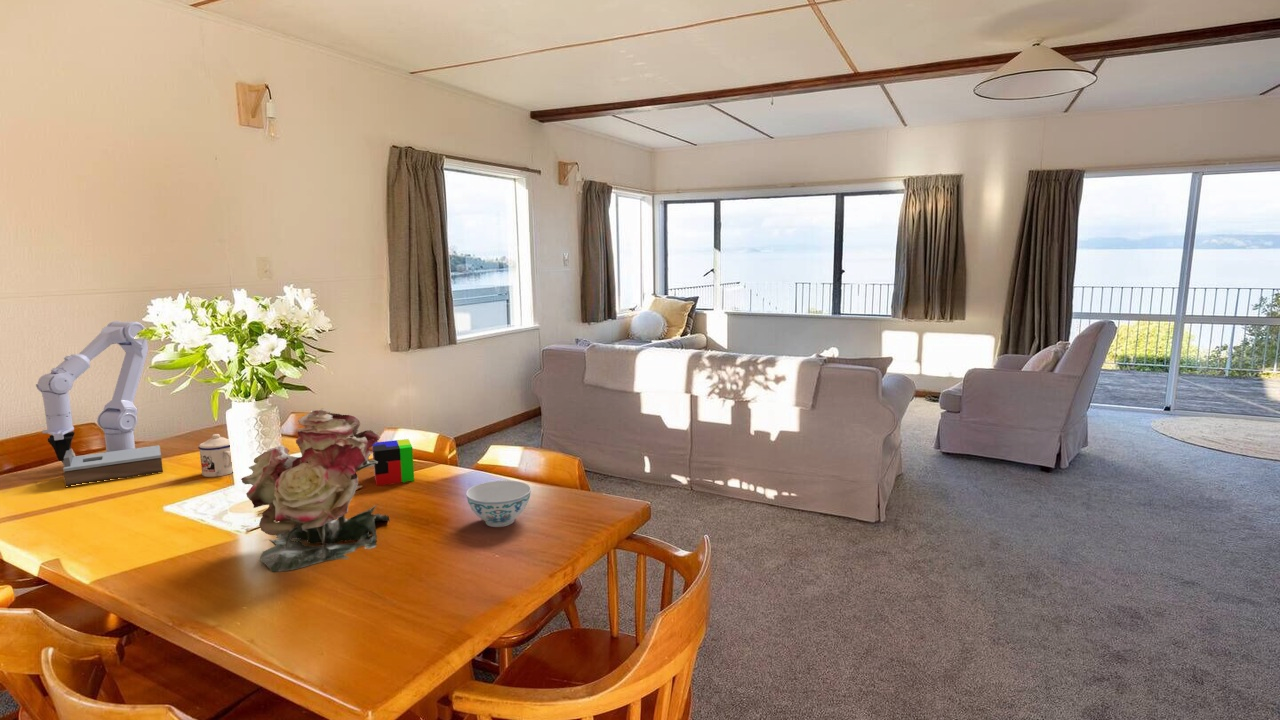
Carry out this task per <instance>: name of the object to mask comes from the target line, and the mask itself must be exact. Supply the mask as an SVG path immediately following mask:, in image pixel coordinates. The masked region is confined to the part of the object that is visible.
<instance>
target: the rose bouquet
mask: <svg viewBox="0 0 1280 720" xmlns="http://www.w3.org/2000/svg"><path fill="white" fill-rule="evenodd" d="M297 422H298V424H299V425H300V426H303V427H301V428H297V429H296V433H297V435H298V437H297V438H296V439H295V443H296V445H297V446H298V449H299V451H300V454H301V456H299V457H298V456H294V455H289V453H290V449H288V447H286V446H284V445H283V444H281V445H278V446H276V447H272V448H270V449H268V450H266V451H264V452H263V453H261V454H260V455H258V456H256V457H255V458H254V459H253V462H254V465H251V466H248V469H250V470H251V471H252V473H251V474H248V475H247V476H243V477H242V478H240V480H241V482H242V483H243V484H244V485H252V486H251V487H250V488H249V490H248V491H247V492H246V493H245V494H246V497H247V498H248V500H250V502H251V503H252V505H253V508H254V509H255V508H260V507H262V506H268V507H267V509H264V511H262V512H260V513H258V514H257V516H260V515H262V517H260V520H259V523H258V526H259V527H260V530H261V531H262V532H263V533H264V534H267V535H269V536H276V539H270V542H272V543H274V544H275V545H274V546H271V547H270V548H268V549H266V550H264V551H262V553H261V555H260V557H259V558H260V559H259V560H260V563H263V564H264V565H266V566H267V568H268V569H269V570H270V571H271V572H272V573H279V572H286V571H289V572H290V571H293V570H298V569H301V568H305V567H306V568H307V567H310V566H312V565H315V564H319V563H323V562H327V561H333V560H345V559H346V560H348V559H350V557H349V556H346V555H347V554H351V553H354V552H356V550H357V549H358V548H361V547H364V548H363V549H365V550H367V549H368V550H371V549H374V548H376V547H377V545H378V544H377V542H378V541H377V540H378V539H377V538H378V536H377V529H376V522H379V521H388V523H391V521H390V517H389V515H386V514H384V515H383V514H379V513H376V514H372V513H374V510H375V509H376V507H377V506H378V504H375V505H374V506H372V508H371V507H370V508H369V509H367V510H365V511H362V512H360V513H358V514H356V515H353V516H352V517H350V518H346V517H345V515H346V514H347V513H348V511H349V505H350V504H351V501H352V499H353V498H354V495H355V493H356V490H357V487H358V485H359V477H358V474H357V472H359V471H361V470H363V469H367V468H371V467H374V464H377V463H378V462H377V461H374V460H373V459H372V460H371V459H369V457H371V455H373V451H371V448H373V447H372V446H373V444H374V443H376V442H379V441H380V439H381V436H379V435H378V434H377V433H375V432H374V431H373V430H372V429H371V430H370V429H369V430H364V431H360V432H359V433H358V431H359V430H358V429H359V428H360V426H361V421H360V420H359V419H358V417H357V416H355V415H350V414H340V413H333V412H331V411H327V410H324V409H319V410H318V409H317V410H310V412H308V414H306V415H304V416H301V417H300V418H299V419H298V421H297ZM295 539H297V540H295ZM300 540H303V541H307V544H319V543H320V544H321V543H322V545H305V544H304V543H303V542H302V541H300ZM356 540H357V542H356ZM341 541H342V542H343V543H340V542H341ZM347 541H350V542H349V543H348V542H347ZM351 541H352V542H351ZM354 541H355V542H354ZM344 542H347V543H344Z"/></svg>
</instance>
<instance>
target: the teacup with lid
mask: <svg viewBox="0 0 1280 720" xmlns="http://www.w3.org/2000/svg"><path fill="white" fill-rule="evenodd" d="M229 439H230V438H226V437H224V436H221V435H220V434H219V433H214V434H212V435H211V438H209V439H207V440H206V441H204V442H202V443H200V444H199V445H198V449H199V455H200V464H201V465H200V468H201V475H202V476H203V477H205V478H217V477H224V476H227V475H231V474H233V473H232V462H231V452H230V445H229Z"/></svg>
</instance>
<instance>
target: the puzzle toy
mask: <svg viewBox="0 0 1280 720" xmlns="http://www.w3.org/2000/svg"><path fill="white" fill-rule="evenodd" d="M371 448H372V452H373V453H372V458H373V459H372V460H374V461H377V462H378V463H377V464H374V465H373V474H374V476H375V477H374V480H375V485H376V487H379V485H381V486H386V485H385V484H388V485H393V484H392V483H396V484H401V483H400V482H403V483H407V482H406V481H411V482H415V472H414V471H415V470H414V469H415V468H414V452H413V446H412V443H411V441H410V439H409V438H408V439H407V438H406V439H405V438H404V439H396V440H394V439H393V440H385V441H377V442H376V443H374V444H373V446H372V447H371Z"/></svg>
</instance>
